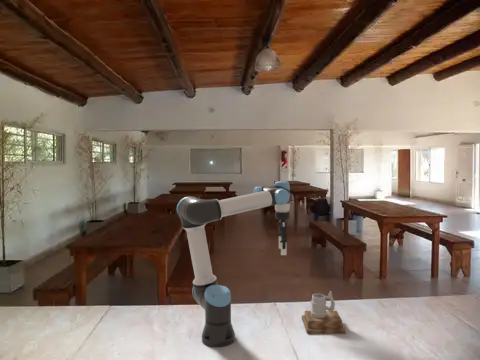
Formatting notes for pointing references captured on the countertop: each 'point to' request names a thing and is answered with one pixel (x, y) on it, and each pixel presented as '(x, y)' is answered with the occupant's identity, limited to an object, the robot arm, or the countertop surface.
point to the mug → (321, 305)
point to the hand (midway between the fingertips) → (282, 251)
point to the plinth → (323, 324)
